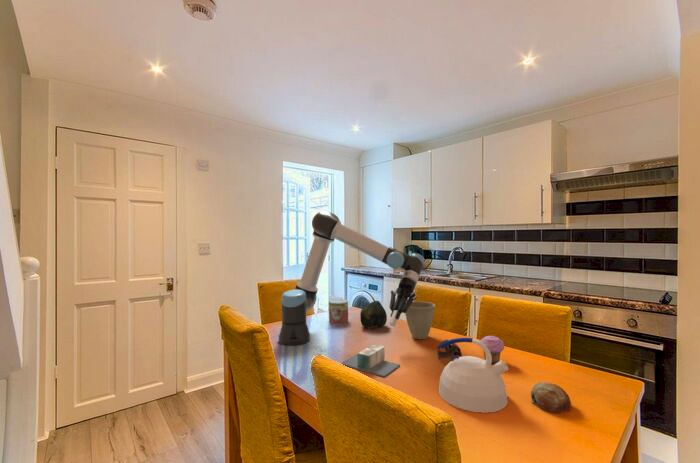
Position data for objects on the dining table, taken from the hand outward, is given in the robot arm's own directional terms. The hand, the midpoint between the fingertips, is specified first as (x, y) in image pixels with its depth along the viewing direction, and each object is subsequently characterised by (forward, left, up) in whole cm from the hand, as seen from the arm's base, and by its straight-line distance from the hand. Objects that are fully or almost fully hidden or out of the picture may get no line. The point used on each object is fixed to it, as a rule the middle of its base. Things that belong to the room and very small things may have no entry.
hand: (391, 324), depth 140 cm
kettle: (+39, -20, -12) cm, 45 cm away
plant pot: (+2, +23, -11) cm, 26 cm away
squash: (-26, +25, -12) cm, 38 cm away
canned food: (-48, +22, -11) cm, 54 cm away
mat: (0, -19, -11) cm, 22 cm away
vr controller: (+23, +6, -12) cm, 27 cm away
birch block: (0, -11, -8) cm, 14 cm away
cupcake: (+38, +11, -11) cm, 42 cm away
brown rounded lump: (+60, -12, -12) cm, 62 cm away
